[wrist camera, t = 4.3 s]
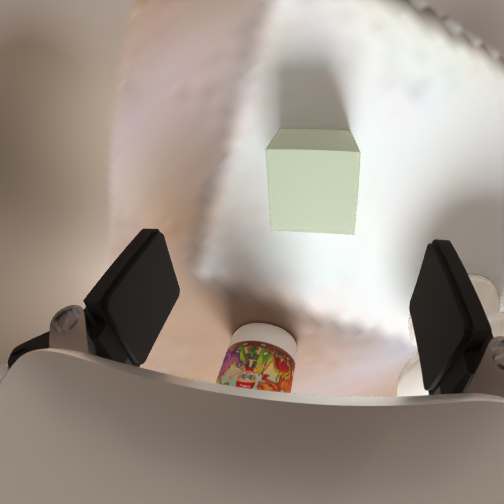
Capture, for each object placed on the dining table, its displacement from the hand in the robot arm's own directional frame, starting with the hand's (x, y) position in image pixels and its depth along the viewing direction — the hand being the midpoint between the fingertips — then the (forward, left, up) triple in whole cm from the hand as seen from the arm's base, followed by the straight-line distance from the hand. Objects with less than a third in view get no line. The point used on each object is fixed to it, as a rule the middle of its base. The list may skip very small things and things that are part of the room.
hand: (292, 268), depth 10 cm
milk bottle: (+5, +21, -13) cm, 26 cm away
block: (0, 0, -13) cm, 13 cm away
